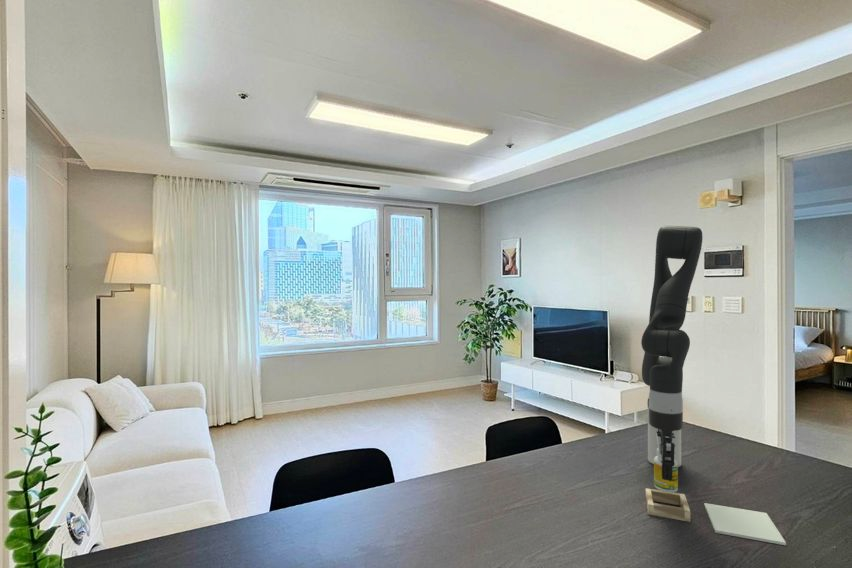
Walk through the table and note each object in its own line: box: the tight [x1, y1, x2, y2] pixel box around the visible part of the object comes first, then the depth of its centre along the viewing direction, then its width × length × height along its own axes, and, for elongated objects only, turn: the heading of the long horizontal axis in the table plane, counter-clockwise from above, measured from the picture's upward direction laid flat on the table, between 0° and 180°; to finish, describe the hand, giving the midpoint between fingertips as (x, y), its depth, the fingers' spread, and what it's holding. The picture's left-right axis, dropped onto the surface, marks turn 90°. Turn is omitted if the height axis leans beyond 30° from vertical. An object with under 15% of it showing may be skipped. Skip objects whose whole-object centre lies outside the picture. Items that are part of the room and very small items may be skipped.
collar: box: [645, 487, 691, 523], centre depth 110 cm, size 9×9×2 cm
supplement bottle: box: [653, 448, 679, 493], centre depth 111 cm, size 5×5×10 cm
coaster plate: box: [703, 502, 787, 546], centre depth 103 cm, size 13×13×1 cm
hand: (665, 474), depth 111 cm, fingers closed on supplement bottle, 5 cm apart
